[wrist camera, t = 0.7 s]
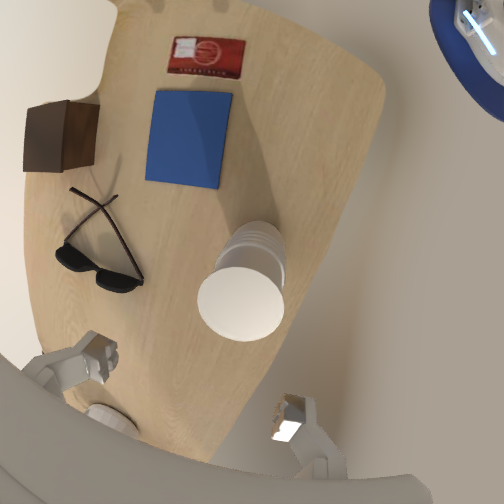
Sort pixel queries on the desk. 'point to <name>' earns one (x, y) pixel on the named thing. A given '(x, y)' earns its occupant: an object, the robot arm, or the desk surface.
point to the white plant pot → (112, 419)
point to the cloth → (188, 137)
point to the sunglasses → (81, 263)
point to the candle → (246, 284)
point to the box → (60, 136)
